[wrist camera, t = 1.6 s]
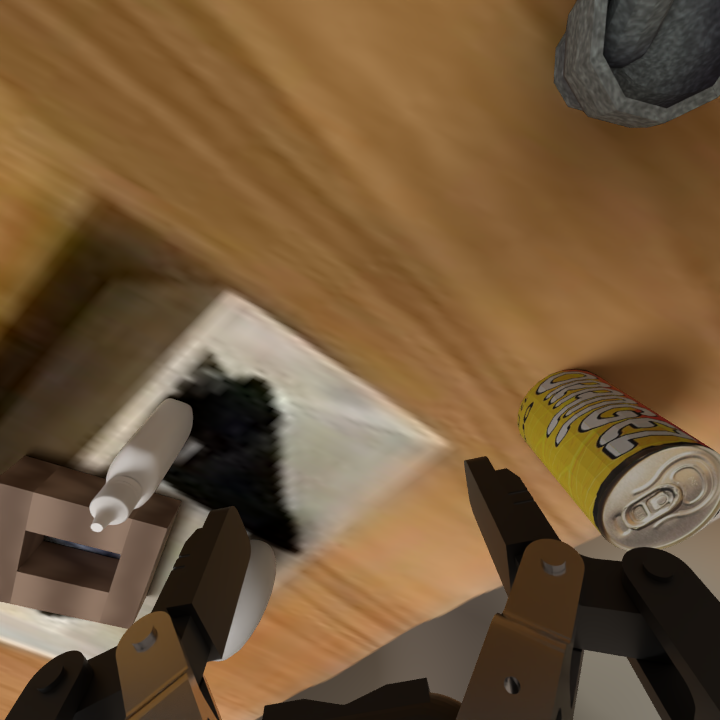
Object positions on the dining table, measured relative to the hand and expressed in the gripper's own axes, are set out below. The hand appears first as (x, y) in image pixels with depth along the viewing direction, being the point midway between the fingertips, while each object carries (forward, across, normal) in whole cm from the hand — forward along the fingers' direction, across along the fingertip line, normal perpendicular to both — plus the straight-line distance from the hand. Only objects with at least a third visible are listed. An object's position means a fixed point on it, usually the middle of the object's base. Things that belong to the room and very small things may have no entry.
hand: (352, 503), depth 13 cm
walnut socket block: (+20, +30, +14) cm, 39 cm away
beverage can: (+22, -18, +13) cm, 31 cm away
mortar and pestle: (+21, -20, -15) cm, 33 cm away
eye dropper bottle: (+20, +17, +5) cm, 27 cm away
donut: (+21, +16, +21) cm, 34 cm away
